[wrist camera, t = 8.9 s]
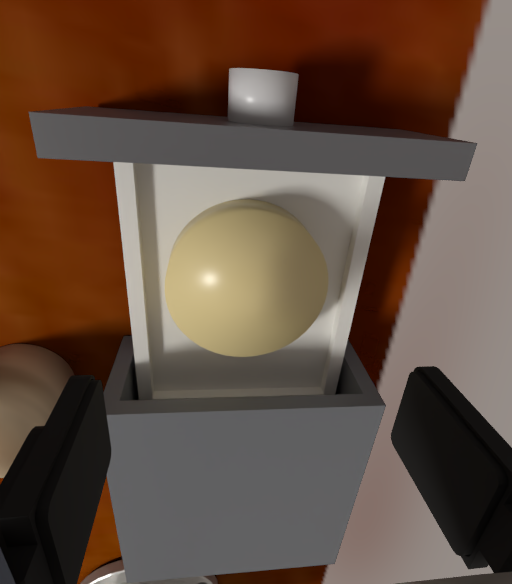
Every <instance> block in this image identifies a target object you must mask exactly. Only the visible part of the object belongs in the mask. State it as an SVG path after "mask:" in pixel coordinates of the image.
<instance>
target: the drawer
mask: <svg viewBox="0 0 512 584" xmlns="http://www.w3.org/2000/svg"><path fill="white" fill-rule="evenodd" d="M298 77H299V74H296V73H291V72H284V71H275V70H265V69H250V68H230V69H229V91H228V117H223V116H210V115H196V114H182V113H169V112H155V111H141V110H128V109H114V108H101V107H87V106H86V107H75V108H65V109H54V110H44V111H33V112H29V116H30V121H31V126H32V131H33V136H34V141H35V146H36V152H37V157H38V158H51V159H70V160H88V161H106V162H114V172H115V181H116V190H117V200H118V209H119V218H120V228H121V237H122V246H123V256H124V265H125V274H126V284H127V293H128V303H129V312H130V321H131V331H132V340H133V349H134V359H135V368H136V377H137V387H138V396H139V400H166V399H201V398H236V397H270V396H305V395H335V393H336V389H337V384H338V380H339V376H340V371H341V367H342V363H343V358H344V354H345V350H346V345H347V341H348V337H349V332H350V328H351V324H352V319H353V315H354V311H355V306H356V302H357V298H358V293H359V289H360V285H361V280H362V276H363V272H364V267H365V263H366V259H367V254H368V250H369V246H370V241H371V237H372V233H373V228H374V224H375V220H376V215H377V211H378V207H379V202H380V198H381V194H382V189H383V185H384V181H385V177H399V178H417V179H436V180H454V181H465V179H466V176H467V173H468V170H469V167H470V164H471V161H472V158H473V155H474V152H475V149H476V146H477V143H473V142H467V141H462V140H456V139H451V138H445V137H440V136H434V135H428V134H423V133H417V132H412V131H406V130H401V129H387V128H373V127H360V126H346V125H333V124H319V123H305V122H294V113H295V104H296V95H297V86H298ZM239 199H252V200H260V201H264V202H269V203H272V204H274V205H277V206H279V207H281V208H283V209H285V210H286V211H288V212H289V213H291V214H292V215H293V216H295V217H296V218H297V219H298V220H299V221H300V222H301V223H302V224H303V225H304V227H305V228H306V230H307V231H308V232H309V234H310V235H311V236H312V238H313V239H314V240H315V242H316V243H317V245H318V246H319V248H320V250H321V252H322V253H323V256H324V258H325V261H326V264H327V270H328V292H327V296H326V300H325V303H324V305H323V308H322V310H321V312H320V314H319V315H318V317H317V319H316V320H315V321H314V323H313V324H312V325H311V327H310V328H309V329H308V330H307V331H306V332H305V333H304V334H302V335H301V336H300V337H299V338H298V339H296V340H295V341H293V342H292V343H290V344H289V345H287V346H285V347H283V348H281V349H278V350H276V351H273V352H270V353H267V354H263V355H258V356H249V357H234V356H227V355H222V354H218V353H215V352H212V351H209V350H207V349H205V348H203V347H201V346H199V345H197V344H196V343H194V342H193V341H192V340H190V339H189V338H188V337H187V336H186V335H185V334H184V333H183V332H182V331H181V330H180V329H179V328H178V327H177V325H176V323H175V322H174V320H173V319H172V317H171V314H170V312H169V310H168V307H167V303H166V298H165V277H166V272H167V267H168V263H169V258H170V254H171V251H172V248H173V245H174V243H175V241H176V239H177V237H178V236H179V234H180V233H181V231H182V230H183V228H184V227H185V226H186V225H187V224H188V223H189V222H190V221H191V220H192V219H193V218H195V217H196V216H197V215H198V214H200V213H201V212H203V211H205V210H206V209H208V208H210V207H212V206H215V205H217V204H220V203H223V202H227V201H232V200H239Z"/></svg>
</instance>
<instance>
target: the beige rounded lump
mask: <svg viewBox="0 0 512 584" xmlns="http://www.w3.org/2000/svg"><path fill="white" fill-rule="evenodd" d="M71 376H75V375H74V373H73V370H72V369H71V367H70V366H69V364H68V363H67V362H66V361H65V360H64V359H63V358H61V357H60V356H59V355H57V354H56V353H54V352H52V351H50V350H48V349H46V348H43V347H40V346H36V345H31V344H10V345H6V346H2V347H0V478H4V477H5V475H6V474H7V472H8V470H9V468H10V466H11V465H12V463H13V461H14V459H15V457H16V456H17V454H18V452H19V450H20V448H21V447H22V445H23V443H24V441H25V439H26V438H27V436H28V434H29V433H30V431H31V430H32V429H33V428H34V427H35V426H45V424H46V422H47V420H48V418H49V416H50V414H51V412H52V410H53V408H54V406H55V404H56V403H57V401H58V399H59V397H60V395H61V393H62V391H63V389H64V387H65V385H66V383H67V381H68V379H69V378H70V377H71Z"/></svg>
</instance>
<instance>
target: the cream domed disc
mask: <svg viewBox="0 0 512 584" xmlns="http://www.w3.org/2000/svg"><path fill="white" fill-rule="evenodd" d="M327 292H328V270H327V264H326V261H325V258H324V256H323V253H322V252H321V250H320V248H319V246H318V245H317V243H316V242H315V240H314V239H313V238H312V236H311V235H310V234H309V232H308V231H307V230H306V228H305V227H304V225H303V224H302V223H301V222H300V221H299V220H298V219H297V218H296V217H295V216H293V215H292V214H291V213H289V212H288V211H286V210H285V209H283V208H281V207H279V206H277V205H274V204H272V203H269V202H264V201H260V200H252V199H239V200H232V201H227V202H223V203H220V204H217V205H215V206H212V207H210V208H208V209H206V210H205V211H203V212H201V213H200V214H198V215H197V216H196V217H195V218H193V219H192V220H191V221H190V222H189V223H188V224H187V225H186V226H185V227H184V228H183V230H182V231H181V233H180V234H179V236H178V237H177V239H176V241H175V243H174V245H173V248H172V251H171V254H170V258H169V263H168V267H167V272H166V277H165V298H166V303H167V307H168V310H169V312H170V314H171V317H172V319H173V320H174V322H175V323H176V325H177V327H178V328H179V329H180V330H181V331H182V332H183V333H184V334H185V335H186V336H187V337H188V338H189V339H190V340H192V341H193V342H194V343H196V344H197V345H199V346H201V347H203V348H205V349H207V350H209V351H212V352H215V353H218V354H222V355H227V356H234V357H249V356H258V355H263V354H267V353H270V352H273V351H276V350H278V349H281V348H283V347H285V346H287V345H289V344H290V343H292V342H293V341H295V340H296V339H298V338H299V337H300V336H301V335H302V334H304V333H305V332H306V331H307V330H308V329H309V328H310V327H311V325H312V324H313V323H314V321H315V320H316V319H317V317H318V315H319V314H320V312H321V310H322V308H323V305H324V303H325V300H326V296H327Z"/></svg>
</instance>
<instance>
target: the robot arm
mask: <svg viewBox="0 0 512 584" xmlns="http://www.w3.org/2000/svg"><path fill="white" fill-rule="evenodd" d="M391 440H392V444H393V446H394V448H395V449H396V451H397V453H398V455H399V456H400V458H401V460H402V461H403V463H404V465H405V467H406V469H407V470H408V472H409V474H410V476H411V477H412V479H413V481H414V482H415V484H416V486H417V488H418V490H419V492H420V493H421V495H422V497H423V499H424V500H425V502H426V504H427V505H428V507H429V509H430V511H431V513H432V514H433V516H434V518H435V519H436V521H437V523H438V525H439V527H440V528H441V530H442V532H443V534H444V535H445V537H446V539H447V541H448V542H449V544H450V546H451V548H452V549H453V551H454V552H455V553H456V554H457V555H459V556H461V557H462V559H463V561H464V562H465V564H466V566H467V568H468V569H474V568H483V567H487V566H488V564H489V566H490V567H491V569H492V570H493V572H494V573H492V574H481V575H471V576H462V577H453V578H444V579H434V580H426V581H416V582H407V583H397V584H512V448H511V447H510V446H509V444H508V443H507V442H506V441H505V440H504V439H503V438H502V437H501V436H500V435H499V434H498V433H497V431H496V430H495V429H494V428H493V427H492V426H491V425H490V424H489V423H488V422H487V420H486V419H485V418H484V417H483V416H482V415H481V414H480V413H479V412H478V411H477V410H476V409H475V407H474V406H473V405H472V404H471V403H470V402H469V401H468V400H467V399H466V398H465V397H464V395H463V394H462V393H461V392H460V391H459V390H458V389H457V388H456V387H455V386H454V385H453V384H452V382H450V380H449V379H448V378H447V377H446V376H445V375H444V374H443V373H442V372H441V371H440V369H438V368H437V367H434V366H432V367H417V368H415V370H414V372H411V373H410V375H409V378H408V381H407V384H406V387H405V390H404V394H403V397H402V400H401V404H400V407H399V410H398V413H397V416H396V420H395V423H394V426H393V430H392V433H391ZM110 460H111V442H110V435H109V428H108V421H107V415H106V408H105V401H104V394H103V387H102V382H101V380H95V377H94V376H93V375H75V376H71V377H70V378H69V379H68V381H67V383H66V385H65V387H64V389H63V391H62V393H61V395H60V397H59V399H58V401H57V403H56V404H55V406H54V408H53V410H52V412H51V414H50V416H49V418H48V420H47V422H46V424H45V426H35V427H34V428H33V429H32V430H31V431H30V433H29V434H28V436H27V438H26V439H25V441H24V443H23V445H22V447H21V448H20V450H19V452H18V454H17V456H16V457H15V459H14V461H13V463H12V465H11V466H10V468H9V470H8V472H7V474H6V475H5V477H4V479H3V481H2V483H1V484H0V584H77V581H78V577H79V573H80V570H81V566H82V562H83V559H84V555H85V552H86V548H87V544H88V541H89V537H90V533H91V530H92V526H93V522H94V519H95V515H96V511H97V508H98V504H99V501H100V497H101V493H102V490H103V486H104V482H105V479H106V475H107V471H108V468H109V464H110ZM80 584H218V581H217V579H216V577H215V575H209V576H198V577H188V578H177V579H166V580H155V581H144V582H134V583H127V581H126V576H125V570H124V565H123V560H118V561H115V562H113V563H110V564H107V565H105V566H103V567H101V568H99V569H97V570H95V571H94V572H92V573H91V574H90V575H88V576H87V577H86V578H85V579H84V580H83V581H82V582H81V583H80Z"/></svg>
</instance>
